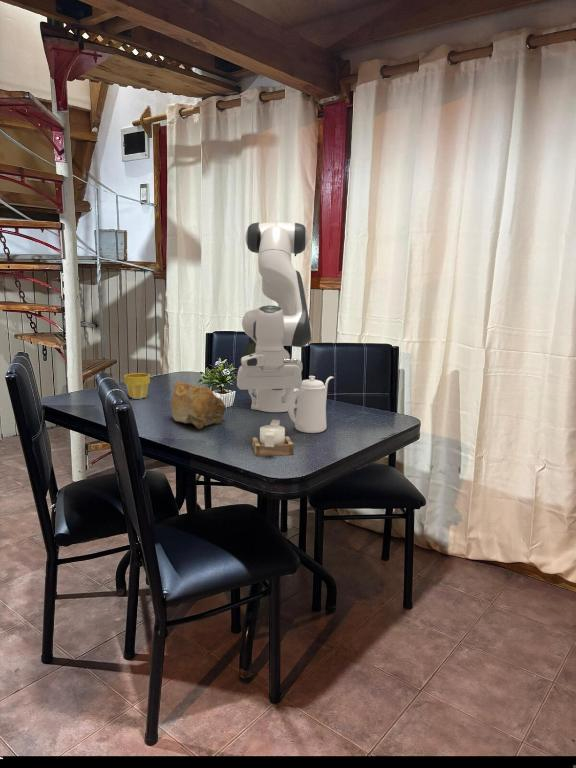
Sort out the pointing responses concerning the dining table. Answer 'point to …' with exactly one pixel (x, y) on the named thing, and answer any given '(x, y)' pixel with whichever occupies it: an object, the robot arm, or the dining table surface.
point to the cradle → (273, 448)
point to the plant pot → (137, 384)
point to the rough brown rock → (196, 405)
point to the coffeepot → (309, 406)
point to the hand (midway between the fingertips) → (269, 402)
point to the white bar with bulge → (272, 434)
